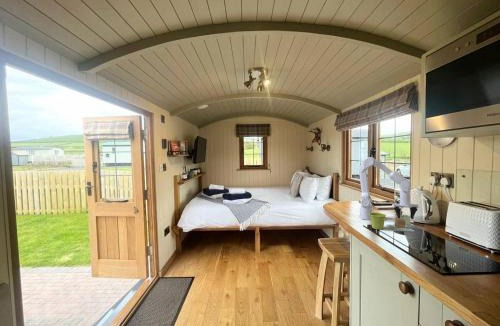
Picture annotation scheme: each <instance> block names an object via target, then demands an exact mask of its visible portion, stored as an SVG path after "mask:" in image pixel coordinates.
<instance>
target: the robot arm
mask: <svg viewBox="0 0 500 326" xmlns="http://www.w3.org/2000/svg"><path fill="white" fill-rule="evenodd" d="M370 167H374V168H378V169H380V170H381V171H383V172H384V173H385V174H387V175H388V178H389V179H390V180H391V181H393V182H394V183H396V184H397V185H399V188H400V190H399V203H392V205H391V206H392V207H393V209H394V211H395V213H396V216H397V218H400V215H401V211H402V209H401V208H409V213H410V220H414V218H415V214H416V213H417V211H418V210H419V209H418V208H419V204H418V203H417V204H414V203H413V204H412V201H411V197H412V196H411V182H410V181H409V179H407V178H406V176H405V177H404V176H402V175H401V174H400V172H399V171H393V170H391V169H390V168H389V167H388V166H386V165H385V164H384V163H382V161H380V160H378V159H376V158H374V157H372V156H368V157H365V158H364V159H363V160H362V162H361V164H360V166H359V168H358V175H359V182H360V190H361V199H360V207H359V215H358V217H359V218H360V219H361V220H365V221H366V220H367V221H371V218H370V215H369V213H373V205H372V204H371V203H373V199H372V197H371V194H370V189H369V182H368V181H369V180H368V174H367V173H368V172H367V171H368V170H369V169H370Z"/></svg>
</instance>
